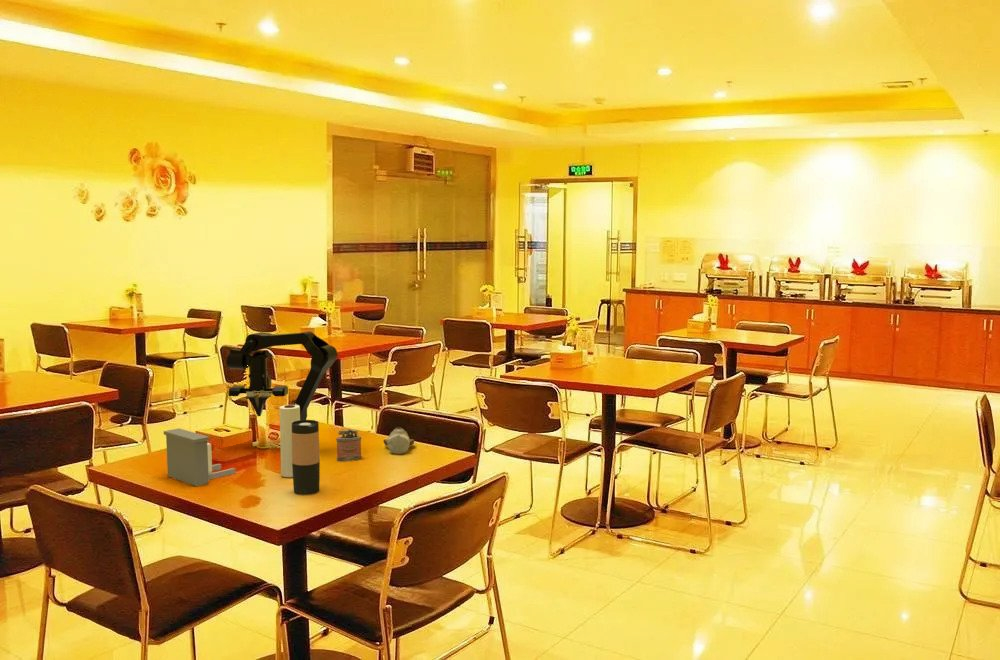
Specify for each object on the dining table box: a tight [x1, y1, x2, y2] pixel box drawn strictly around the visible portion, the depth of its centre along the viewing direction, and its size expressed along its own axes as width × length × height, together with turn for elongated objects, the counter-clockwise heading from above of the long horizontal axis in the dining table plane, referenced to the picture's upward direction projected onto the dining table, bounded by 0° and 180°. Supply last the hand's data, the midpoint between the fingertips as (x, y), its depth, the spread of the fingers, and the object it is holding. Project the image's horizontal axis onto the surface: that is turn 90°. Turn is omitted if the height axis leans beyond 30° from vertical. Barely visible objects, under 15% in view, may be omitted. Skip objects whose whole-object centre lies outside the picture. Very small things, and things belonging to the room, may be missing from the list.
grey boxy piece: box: [163, 428, 236, 487], centre depth 261 cm, size 16×17×14 cm
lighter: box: [335, 428, 362, 462], centre depth 281 cm, size 8×3×10 cm, turn 108°
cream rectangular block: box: [207, 442, 213, 474], centre depth 260 cm, size 4×6×10 cm
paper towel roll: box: [278, 404, 300, 478], centre depth 262 cm, size 7×6×21 cm
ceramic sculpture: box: [383, 426, 416, 455], centre depth 293 cm, size 11×9×15 cm
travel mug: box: [292, 419, 321, 496], centre depth 246 cm, size 8×8×20 cm
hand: (259, 416), depth 291 cm, fingers closed
